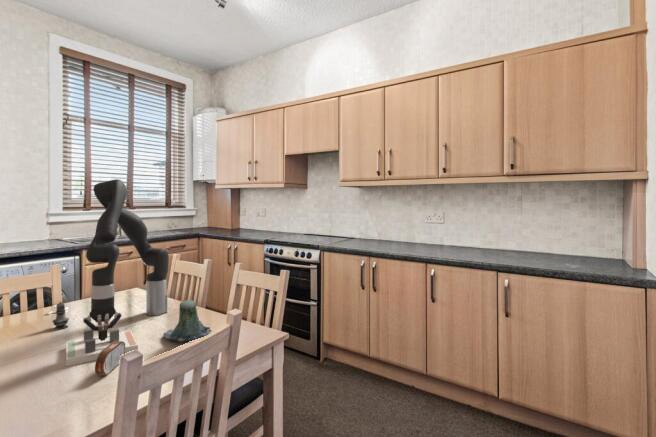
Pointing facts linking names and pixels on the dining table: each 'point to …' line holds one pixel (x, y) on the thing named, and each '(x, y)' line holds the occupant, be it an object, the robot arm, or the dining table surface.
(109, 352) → the tin
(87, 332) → the block
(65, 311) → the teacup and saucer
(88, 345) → the block
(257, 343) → the dining table surface
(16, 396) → the dining table surface
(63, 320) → the grey chess pawn
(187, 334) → the green bell-shaped piece
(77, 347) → the board
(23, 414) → the dining table surface
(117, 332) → the block
